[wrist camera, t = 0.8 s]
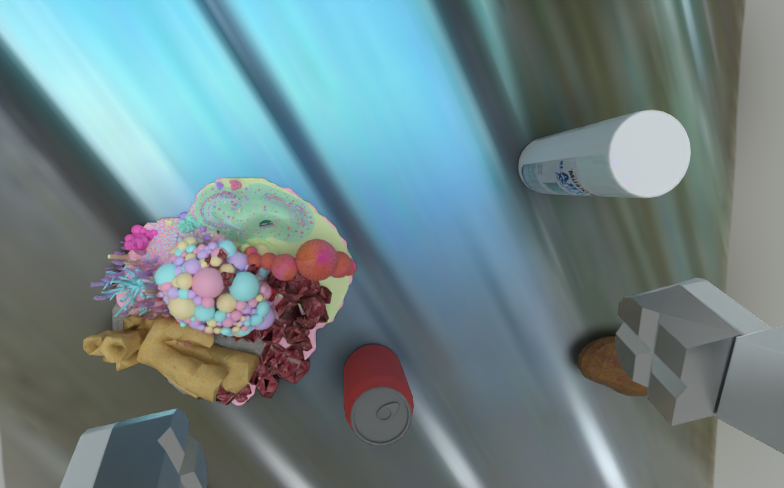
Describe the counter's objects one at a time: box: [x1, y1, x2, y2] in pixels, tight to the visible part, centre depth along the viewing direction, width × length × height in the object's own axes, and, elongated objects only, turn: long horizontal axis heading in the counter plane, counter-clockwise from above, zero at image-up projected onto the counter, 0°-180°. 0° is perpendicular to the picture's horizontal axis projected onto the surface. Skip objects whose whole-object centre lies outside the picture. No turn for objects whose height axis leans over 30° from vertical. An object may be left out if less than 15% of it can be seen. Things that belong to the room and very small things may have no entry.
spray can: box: [518, 110, 691, 198], centre depth 48 cm, size 6×6×20 cm
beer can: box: [343, 344, 414, 446], centre depth 53 cm, size 7×7×12 cm
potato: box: [577, 336, 648, 396], centre depth 58 cm, size 7×12×7 cm, turn 82°
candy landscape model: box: [83, 178, 357, 405], centre depth 52 cm, size 25×24×9 cm
